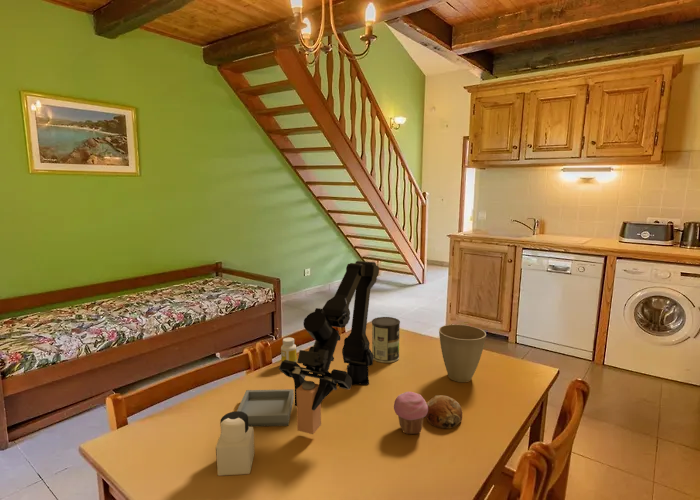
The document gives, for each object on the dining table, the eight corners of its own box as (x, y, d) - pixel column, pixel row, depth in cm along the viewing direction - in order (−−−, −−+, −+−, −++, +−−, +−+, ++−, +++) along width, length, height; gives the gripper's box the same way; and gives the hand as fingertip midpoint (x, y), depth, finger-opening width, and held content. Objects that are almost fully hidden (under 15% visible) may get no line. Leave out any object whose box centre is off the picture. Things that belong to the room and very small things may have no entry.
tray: (293, 398, 122) (293, 389, 122) (288, 425, 108) (287, 415, 108) (246, 399, 122) (246, 390, 121) (235, 426, 108) (234, 416, 107)
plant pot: (483, 391, 126) (485, 342, 124) (434, 383, 131) (436, 336, 129) (484, 370, 140) (486, 326, 138) (440, 365, 145) (441, 321, 143)
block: (306, 421, 106) (305, 378, 104) (321, 424, 104) (320, 381, 102) (297, 430, 102) (296, 386, 100) (313, 434, 100) (312, 389, 98)
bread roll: (462, 428, 113) (464, 397, 115) (460, 432, 104) (462, 399, 106) (426, 421, 117) (429, 392, 119) (421, 425, 107) (424, 393, 109)
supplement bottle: (298, 362, 147) (297, 336, 146) (294, 369, 142) (294, 342, 140) (283, 362, 148) (282, 336, 146) (279, 368, 142) (278, 342, 141)
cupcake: (432, 438, 103) (433, 401, 101) (398, 442, 101) (399, 404, 100) (420, 418, 111) (421, 384, 110) (389, 421, 110) (390, 387, 108)
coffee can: (397, 351, 157) (398, 316, 155) (400, 363, 147) (401, 325, 144) (371, 351, 157) (371, 316, 155) (372, 363, 147) (372, 325, 145)
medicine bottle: (224, 455, 96) (221, 408, 95) (254, 453, 97) (252, 406, 95) (216, 476, 89) (214, 426, 88) (250, 474, 90) (247, 424, 88)
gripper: (281, 330, 106) (257, 389, 97) (347, 340, 98) (327, 405, 90) (297, 348, 114) (277, 404, 106) (359, 358, 107) (342, 419, 99)
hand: (304, 407), depth 100 cm, fingers closed on block, 4 cm apart
